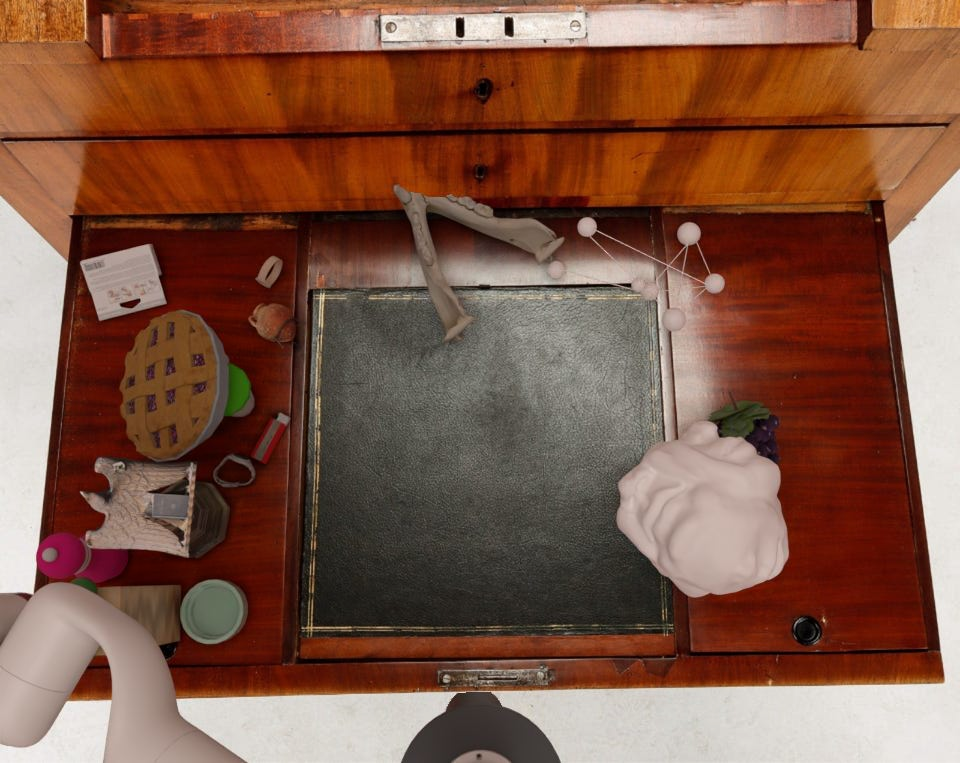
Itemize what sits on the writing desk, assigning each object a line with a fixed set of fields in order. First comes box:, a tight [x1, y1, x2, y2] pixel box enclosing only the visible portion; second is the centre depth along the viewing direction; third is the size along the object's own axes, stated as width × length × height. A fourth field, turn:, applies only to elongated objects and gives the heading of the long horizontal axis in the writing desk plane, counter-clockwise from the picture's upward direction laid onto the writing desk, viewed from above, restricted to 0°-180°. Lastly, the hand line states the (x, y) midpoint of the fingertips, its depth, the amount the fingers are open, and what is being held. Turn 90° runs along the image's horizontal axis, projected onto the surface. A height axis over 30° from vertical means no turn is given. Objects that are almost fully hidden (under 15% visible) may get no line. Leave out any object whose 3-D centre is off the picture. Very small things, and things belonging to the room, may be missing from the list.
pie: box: [118, 309, 229, 463], centre depth 128 cm, size 22×22×5 cm
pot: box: [248, 302, 307, 349], centre depth 138 cm, size 6×8×6 cm
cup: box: [223, 363, 256, 418], centre depth 131 cm, size 8×8×15 cm
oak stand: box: [94, 584, 182, 657], centre depth 120 cm, size 8×8×24 cm
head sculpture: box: [615, 420, 790, 598], centre depth 124 cm, size 23×23×25 cm
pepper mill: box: [35, 532, 129, 584], centre depth 123 cm, size 7×7×20 cm
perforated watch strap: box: [255, 255, 283, 289], centre depth 140 cm, size 3×5×5 cm, turn 150°
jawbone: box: [393, 184, 565, 343], centre depth 137 cm, size 25×25×15 cm
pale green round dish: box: [180, 578, 249, 645], centre depth 130 cm, size 9×9×4 cm
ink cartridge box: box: [79, 243, 167, 322], centre depth 141 cm, size 2×11×10 cm
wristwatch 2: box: [213, 453, 256, 489], centre depth 135 cm, size 4×6×5 cm
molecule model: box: [546, 216, 726, 332], centre depth 139 cm, size 14×25×18 cm
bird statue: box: [79, 441, 231, 559], centre depth 117 cm, size 17×13×35 cm
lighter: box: [249, 412, 292, 465], centre depth 137 cm, size 3×1×8 cm
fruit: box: [706, 391, 781, 466], centre depth 134 cm, size 10×11×15 cm
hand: (84, 622), depth 107 cm, fingers closed on cucumber, 3 cm apart
